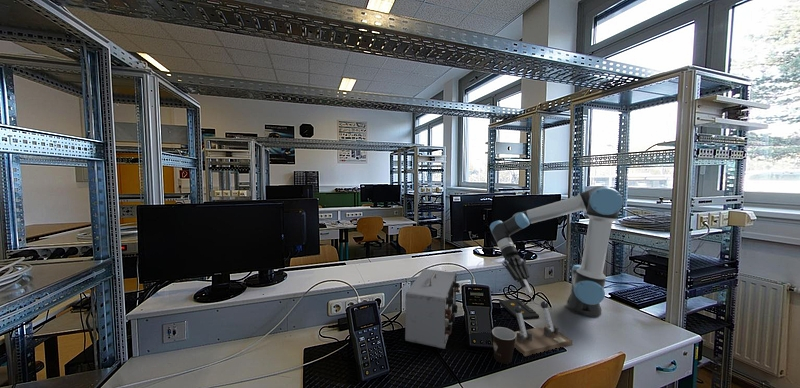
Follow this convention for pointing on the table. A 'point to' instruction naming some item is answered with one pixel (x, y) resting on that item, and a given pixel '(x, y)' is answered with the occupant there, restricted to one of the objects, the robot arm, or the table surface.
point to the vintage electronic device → (431, 308)
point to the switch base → (540, 340)
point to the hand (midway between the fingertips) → (529, 293)
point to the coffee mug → (503, 344)
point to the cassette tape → (526, 310)
